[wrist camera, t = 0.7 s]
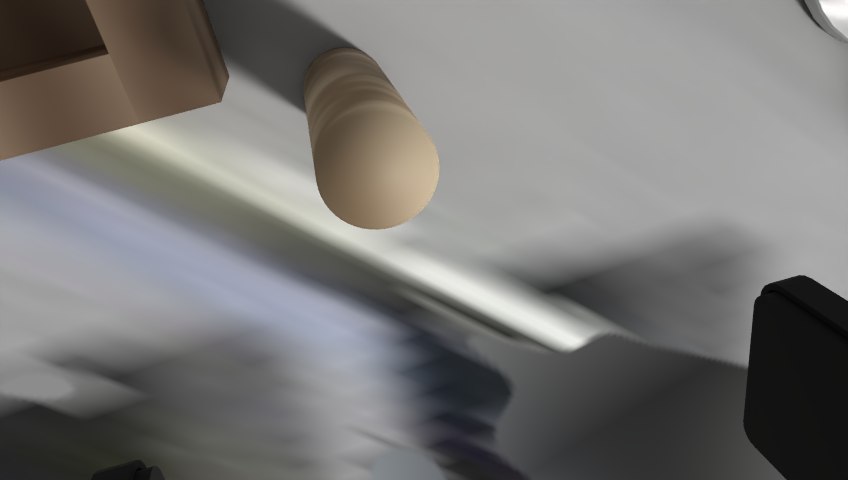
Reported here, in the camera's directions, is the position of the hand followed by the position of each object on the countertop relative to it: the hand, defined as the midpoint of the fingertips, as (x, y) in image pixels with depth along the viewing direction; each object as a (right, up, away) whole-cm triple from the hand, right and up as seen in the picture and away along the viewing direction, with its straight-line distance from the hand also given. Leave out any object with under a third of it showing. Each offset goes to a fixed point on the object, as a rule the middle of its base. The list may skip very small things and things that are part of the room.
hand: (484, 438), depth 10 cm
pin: (-5, +10, +22) cm, 24 cm away
